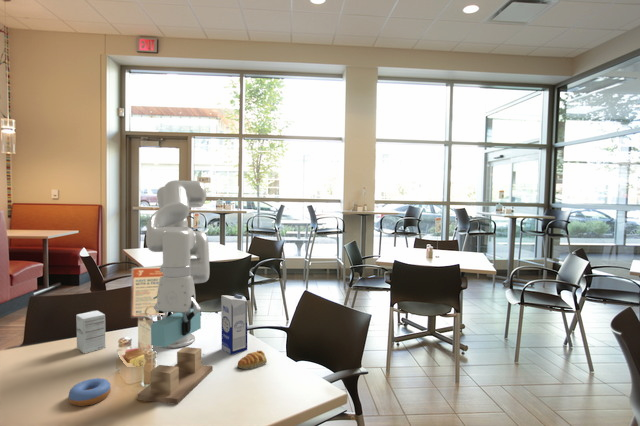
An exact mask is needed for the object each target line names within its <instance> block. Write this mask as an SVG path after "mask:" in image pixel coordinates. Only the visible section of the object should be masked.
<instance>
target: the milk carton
mask: <svg viewBox="0 0 640 426" xmlns="http://www.w3.org/2000/svg"><path fill="white" fill-rule="evenodd" d="M220 301H221V304H220V305H221V314H220V315H221V350H223V351H224V352H226V354H229V355H235V354H238V353H241V352H245V351H248V300H247V299H244V298H243V295H241V294H234V296H232V295H221V297H220Z"/></svg>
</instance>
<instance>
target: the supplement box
mask: <svg viewBox="0 0 640 426" xmlns="http://www.w3.org/2000/svg"><path fill="white" fill-rule="evenodd" d="M75 319H76V321H75V322H76V349H77V348H78V349H77V350H79V349H80V350H81V351H80V350H79V351H80V352H82V354H84V353H85V354H88V353H87V352H89V353H92V352H91V351H93V352H96V351H95V350H97V351H100V350H103V348H104V349H106V348H107V347H106V346H107V345H106V314H105V313H103V312H101V311H99V310H91V311H87V312H83V313H78V314H76V318H75Z"/></svg>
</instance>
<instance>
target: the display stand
mask: <svg viewBox="0 0 640 426" xmlns="http://www.w3.org/2000/svg"><path fill="white" fill-rule="evenodd" d="M176 352H177V353H176V364H175V365H164V364H163V365H162V364H158V365H157V366H156V367H154V368H153V369H151V370H150V384H149V385H147V386H146V387H145V388H143V389H142V390H141V391H140V392H138V393H137V400H139V401H140V400H141V401H147V402H153V403H154V402H155V403H163V404H172V405H179V404H180V403H181V402H182V401H183V400H184V399H185V398H186V397H187V396H188V395H189V394H190V393H191V392H192V391H193V390H194V389H195V388H196V387H198V385H199V384H200V383H201V382H203V380H204V379H206V378H207V377H208V376H209V375H210V374H211V373H212V372H213V369H214V367H213V365H207V364H202V348H198V347H188V346H183V347H181V349H179V350H178V351H176Z"/></svg>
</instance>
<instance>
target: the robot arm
mask: <svg viewBox="0 0 640 426" xmlns="http://www.w3.org/2000/svg"><path fill="white" fill-rule="evenodd" d="M206 200H207V190H206V186H205V184H204V183H203V182H202V181H199V180H171V181H169V182H166V184H165V185H164V186H161V187H159V188H158V190H157V191H156V201H157V205H158V209H157V210H156V211H155V212H154V213H153V214H152V215H151V216H150V218H149V219H148V221H147V223H146V235H145V236H146V237H145V243H146V247H147V249H148V250H149V251H150V252H152V253H162V264H161V266H160V268H159V272H160V273H161V272H163V276H162V277H161V276H160V277H159V282H158V287H157V298H156V299H157V300H156V303H155V304H154V306H153V310H155V311H156V312H157V313H158V314H159V313H165V315H161V316H160V317H161V319H164V318H166V317H168V316H171V315H173V314H175V313H182V315H183V319H184V322H182V335H183V336H185V335H187V334H188V333H189V332H190V330H191V319H192V318H193V317H194V316H195V315H196V314H197V313H198V312H200V311H201V312H202V308H201V306H200V305H199V304H198V302H197V301H196V289H195V284H203V283H206V282H208V280H209V279H210V272H211V271H210V270H211V269H210V252H209V250H210V249H209V239H208V235H207V234H206V233H205V232H203V231H200V230H194V229H193V228H191V227H189V223H188V219H187V218H188V217H189V215H190V208H201V207H202V208H203V206H204V204H205V202H206ZM191 256H195V257H196V258H195V257H193V258H192V257H191ZM190 309H194V310H193V311H192V312H191V310H190ZM171 312H173V314H172V313H171ZM195 341H196V337H195V335H194V334H193V333H191V334H189V335H187V336H185V337H183V338H181V339H180V340H178V341H176V342H174V343H172V344H170V345H168V346H166V347H165V348H166V349H174V348H175V349H177V348H183V347H188V346H189V345H191V344H192V343H194V342H195Z"/></svg>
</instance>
